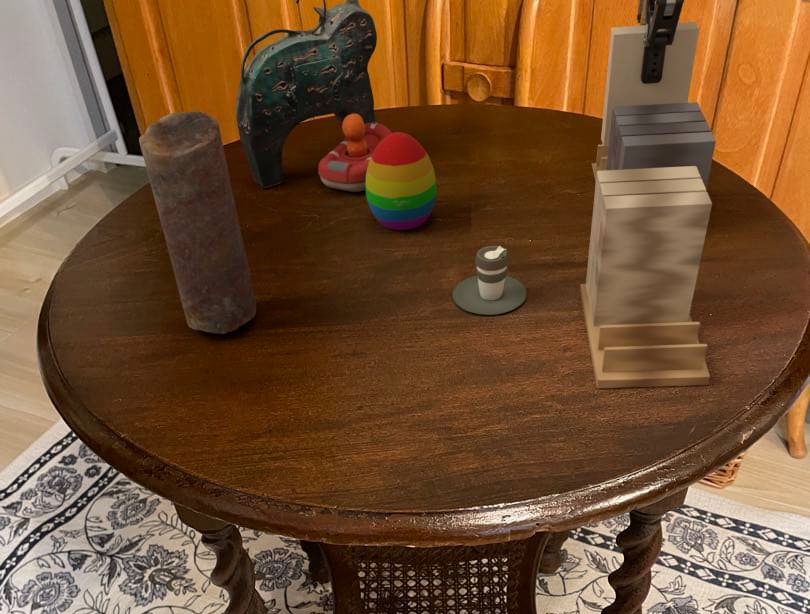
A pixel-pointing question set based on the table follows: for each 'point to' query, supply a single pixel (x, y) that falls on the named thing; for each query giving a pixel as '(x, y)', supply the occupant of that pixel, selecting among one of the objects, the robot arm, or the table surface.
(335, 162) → the toy boat
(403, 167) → the decorative egg
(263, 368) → the table surface
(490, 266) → the coffee cup
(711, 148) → the grey rack
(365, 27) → the ceramic cat
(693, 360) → the cream rack
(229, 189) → the brown textured cylinder
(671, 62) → the cream book
